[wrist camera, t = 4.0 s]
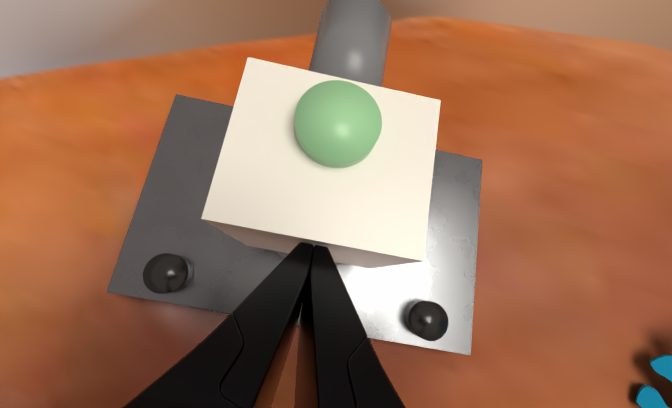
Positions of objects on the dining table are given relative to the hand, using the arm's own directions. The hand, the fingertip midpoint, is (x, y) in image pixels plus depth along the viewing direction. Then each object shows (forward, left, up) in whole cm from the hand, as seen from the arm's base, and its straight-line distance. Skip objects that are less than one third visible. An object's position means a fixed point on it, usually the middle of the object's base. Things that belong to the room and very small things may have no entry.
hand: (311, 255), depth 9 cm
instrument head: (+4, -3, -7) cm, 8 cm away
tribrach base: (+2, -2, -11) cm, 11 cm away
